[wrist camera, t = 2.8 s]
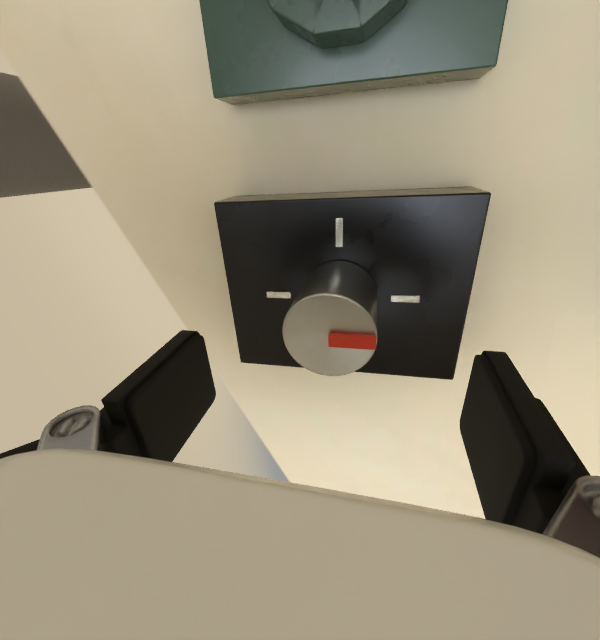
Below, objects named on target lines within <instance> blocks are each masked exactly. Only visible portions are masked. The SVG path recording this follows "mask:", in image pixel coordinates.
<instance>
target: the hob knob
mask: <svg viewBox="0 0 600 640" xmlns="http://www.w3.org/2000/svg"><path fill="white" fill-rule="evenodd" d="M283 339H284V343H285V346H286V348H287V350H288V352H289V353H290V355H291V356H292V357H293V358H294V359H295V360H296V361H297V362H298V363H299V364H300V365H301V366H303V367H304V368H306V369H308V370H310V371H312V372H315V373H317V374H321V375H327V376H340V375H346V374H349V373H352V372H354V371H356V370H358V369H360V368H361V367H362V366H364V365H365V364H366V363H367V362H368V361H369V360H370V358H371V357H372V355H373V353H374V351H375V350H376V345H377V289H376V286H375V283H374V281H373V279H372V278H371V276H370V275H369V274H368V273H367V272H366V271H365V270H364V269H363V268H361V267H360V266H358V265H356V264H354V263H351V262H347V261H331V262H327V263H324V264H322V265H320V266H319V267H317V268H316V269H314V270H313V271H312V272H311V273H310V275H309V276H308V278H307V279H306V281H305V283H304V284H303V286H302V288H301V290H300V291H299V293H298V295H297V297H296V298H295V300H294V302H293V304H292V305H291V307H290V309H289V311H288V312H287V314H286V316H285V319H284V322H283Z"/></svg>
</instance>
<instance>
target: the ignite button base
mask: <svg viewBox="0 0 600 640" xmlns="http://www.w3.org/2000/svg"><path fill="white" fill-rule="evenodd" d="M507 3H508V0H200V7H201V14H202V20H203V27H204V34H205V41H206V47H207V54H208V61H209V68H210V74H211V81H212V88H213V95H214V98H216V99H219V100H222V101H224V102H227V103H230V104H243V103H252V102H261V101H271V100H280V99H289V98H299V97H308V96H317V95H327V94H336V93H345V92H355V91H364V90H374V89H383V88H392V87H402V86H411V85H420V84H430V83H439V82H448V81H458V80H467V79H476V78H480V77H482V76H483V75H484V74H486V73H487V72H488V71H490V70H491V69H492V68H494V67H495V66H496V64H497V59H498V53H499V48H500V42H501V37H502V31H503V25H504V20H505V14H506V9H507Z"/></svg>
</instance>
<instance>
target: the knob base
mask: <svg viewBox="0 0 600 640" xmlns="http://www.w3.org/2000/svg"><path fill="white" fill-rule="evenodd" d="M490 196H491V193H490V192H487V191H484V190H481V189H478V188H474V187H451V188H425V189H400V190H375V191H350V192H325V193H300V194H275V195H250V196H235V197H232V198H228V199H224V200H221V201H217V202H215V203H214V205H215V211H216V217H217V223H218V229H219V235H220V241H221V247H222V253H223V259H224V265H225V270H226V276H227V282H228V288H229V294H230V300H231V306H232V312H233V318H234V324H235V330H236V335H237V341H238V347H239V353H240V359H241V362H242V363H254V364H266V365H279V366H291V367H303V366H301V365H300V364H299V363H298V362H297V361H296V360H295V359H294V358H293V357H292V356H291V355H290V353H289V352H288V350H287V348H286V346H285V343H284V339H283V322H284V319H285V316H286V314H287V312H288V311H289V309H290V307H291V305H292V304H293V302H294V300H295V298H296V297H297V295H298V293H299V291H300V290H301V288H302V286H303V284H304V283H305V281H306V279H307V278H308V276H309V275H310V273H311V272H312V271H313V270H314V269H316V268H317V267H319V266H320V265H322V264H324V263H327V262H331V261H347V262H351V263H354V264H356V265H358V266H360V267H361V268H363V269H364V270H365V271H366V272H367V273H368V274H369V275H370V276H371V278H372V279H373V281H374V283H375V286H376V289H377V345H376V350H375V351H374V353H373V355H372V357H371V358H370V360H369V361H368V362H367V363H366V364H365V365H364V366H362V367H361V368H360V369H358V370H356V371H354V372H364V373H377V374H389V375H401V376H413V377H426V378H438V379H450V380H452V379H453V378H454V373H455V368H456V363H457V358H458V353H459V348H460V343H461V339H462V334H463V329H464V324H465V319H466V314H467V309H468V304H469V299H470V294H471V289H472V285H473V280H474V275H475V270H476V265H477V260H478V255H479V250H480V245H481V240H482V235H483V231H484V226H485V221H486V216H487V211H488V206H489V201H490ZM303 368H304V367H303Z"/></svg>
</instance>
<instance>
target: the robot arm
mask: <svg viewBox="0 0 600 640" xmlns="http://www.w3.org/2000/svg"><path fill="white" fill-rule="evenodd" d="M215 395H216V391H215V387H214V382H213V378H212V374H211V369H210V364H209V360H208V355H207V351H206V346H205V342H204V338H203V336H201V335H200V334H199V332H197V331H186V330H182V331H180V332H179V333H178V334H177V335H176V336H174V337H173V338H172V339H171V340H170V341H169V342H167V343H166V344H165V345H164V346H163V347H162V348H161V349H159V350H158V351H157V352H156V353H155V354H154V355H153V356H151V357H150V358H149V359H148V360H147V361H146V362H145V363H143V364H142V365H141V366H140V367H139V368H138V369H136V370H135V371H134V372H133V373H132V374H131V375H130V376H128V377H127V378H126V379H125V380H124V381H122V382H121V383H120V384H119V385H118V386H117V387H115V388H114V389H113V390H112V391H111V392H110V393H108V394H107V395H106V396H105V397H104V398H103V399H102V403H103V404H104V408H102V409H101V410H100V411H99V409H98V408H96V407H94V406H80V407H76V408H73V409H70V410H67V411H65V412H63V413H62V414H60V415H58V416H57V417H55V418H54V419H52V420H51V421H50V422H49V423H48V424H47V425H46V426H45V428H44V430H43V432H42V435H41V438H40V439H39V440H36V441H34V442H31V443H28V444H26V445H23V446H20V447H18V448H15V449H12V450H9V451H7V452H4V453H1V454H0V640H600V476H591V475H590V474H589V472H588V471H587V469H586V468H585V466H584V465H583V463H582V462H581V460H580V459H579V457H578V456H577V454H576V453H575V451H574V449H573V448H572V446H571V445H570V443H569V442H568V440H567V439H566V437H565V436H564V434H563V433H562V431H561V430H560V428H559V427H558V425H557V424H556V422H555V421H554V419H553V417H552V416H551V414H550V413H549V411H548V410H547V408H546V407H545V405H544V404H543V403H542V401H541V400H539V399H537V398H535V397H534V396H533V394H532V393H531V391H530V390H529V388H528V386H527V385H526V383H525V382H524V380H523V379H522V377H521V375H520V374H519V372H518V371H517V369H516V368H515V366H514V364H513V363H512V361H511V360H510V358H509V357H508V355H507V354H506V353H505V352H494V351H483V352H482V354H481V355H476V356H475V358H474V362H473V366H472V371H471V375H470V379H469V384H468V388H467V392H466V397H465V401H464V405H463V410H462V414H461V418H460V431H461V435H462V438H463V442H464V445H465V449H466V452H467V456H468V459H469V463H470V466H471V470H472V473H473V477H474V480H475V484H476V487H477V491H478V494H479V498H480V501H481V505H482V508H483V511H484V515H485V518H486V519H482V518H477V517H472V516H467V515H462V514H457V513H452V512H447V511H442V510H437V509H432V508H427V507H422V506H417V505H412V504H406V503H401V502H395V501H390V500H384V499H379V498H373V497H368V496H362V495H357V494H351V493H346V492H340V491H335V490H329V489H324V488H318V487H312V486H307V485H301V484H295V483H290V482H284V481H278V480H273V479H267V478H261V477H255V476H250V475H244V474H239V473H233V472H227V471H221V470H215V469H210V468H204V467H198V466H192V465H186V464H180V463H174V462H172V461H173V460H174V458H175V457H176V455H177V454H178V452H179V451H180V450H181V448H182V447H183V445H184V444H185V442H186V441H187V439H188V438H189V437H190V435H191V434H192V432H193V431H194V429H195V428H196V426H197V425H198V423H199V422H200V421H201V419H202V417H203V416H204V415H205V413H206V412H207V410H208V409H209V407H210V406H211V405H212V403H213V402H214V399H215Z"/></svg>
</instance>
